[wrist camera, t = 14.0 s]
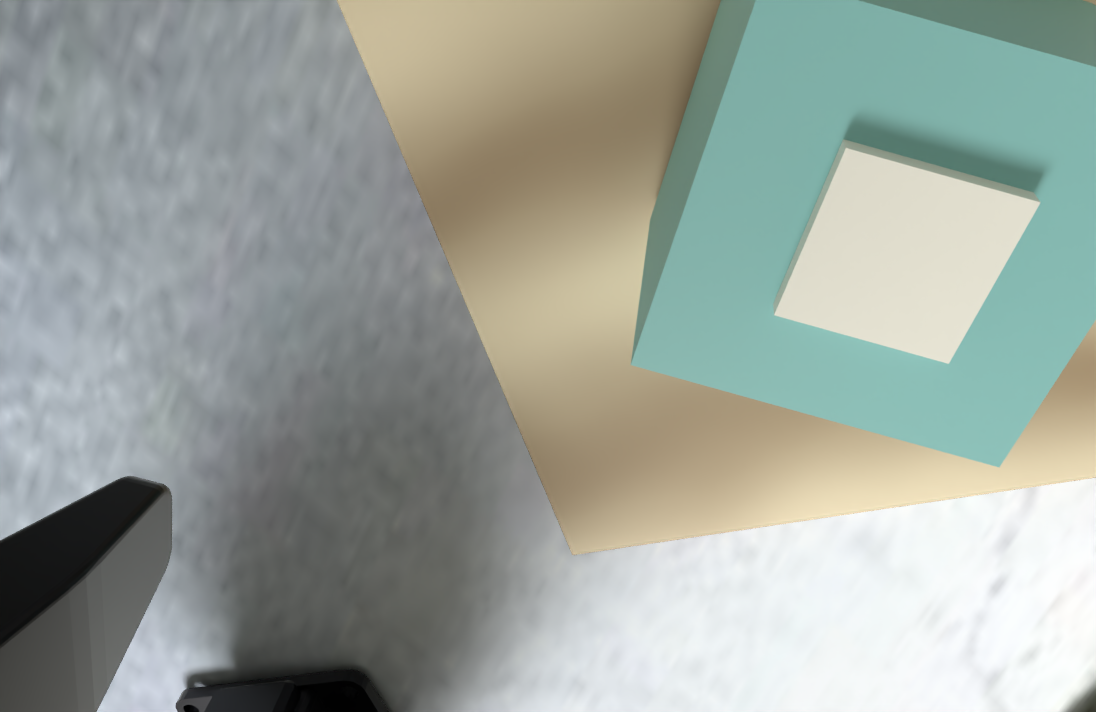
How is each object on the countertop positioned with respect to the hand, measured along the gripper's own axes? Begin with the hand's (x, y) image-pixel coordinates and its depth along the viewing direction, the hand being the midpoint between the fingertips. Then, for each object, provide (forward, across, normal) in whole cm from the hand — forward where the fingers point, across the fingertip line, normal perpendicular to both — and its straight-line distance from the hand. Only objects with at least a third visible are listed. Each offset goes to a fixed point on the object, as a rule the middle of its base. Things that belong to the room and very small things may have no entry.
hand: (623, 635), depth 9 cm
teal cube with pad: (+10, -3, -2) cm, 11 cm away
